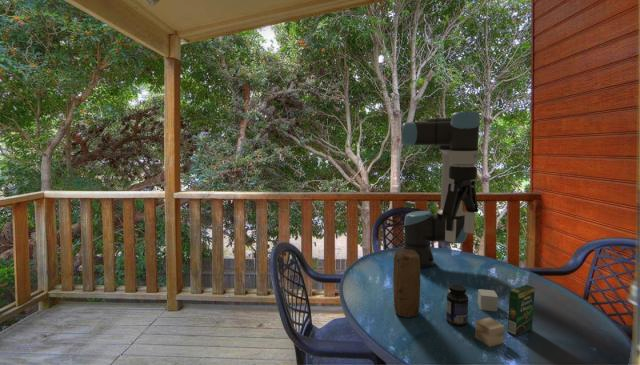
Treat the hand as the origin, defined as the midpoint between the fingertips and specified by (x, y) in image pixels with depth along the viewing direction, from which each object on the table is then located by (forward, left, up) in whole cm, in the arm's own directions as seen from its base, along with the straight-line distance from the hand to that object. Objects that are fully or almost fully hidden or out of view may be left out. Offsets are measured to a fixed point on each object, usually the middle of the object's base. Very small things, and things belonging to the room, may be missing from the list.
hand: (459, 237), depth 102 cm
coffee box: (+6, +16, -27) cm, 32 cm away
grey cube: (-9, +14, -27) cm, 32 cm away
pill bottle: (0, 0, -27) cm, 27 cm away
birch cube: (+10, +5, -27) cm, 29 cm away
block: (-7, -14, -27) cm, 31 cm away
